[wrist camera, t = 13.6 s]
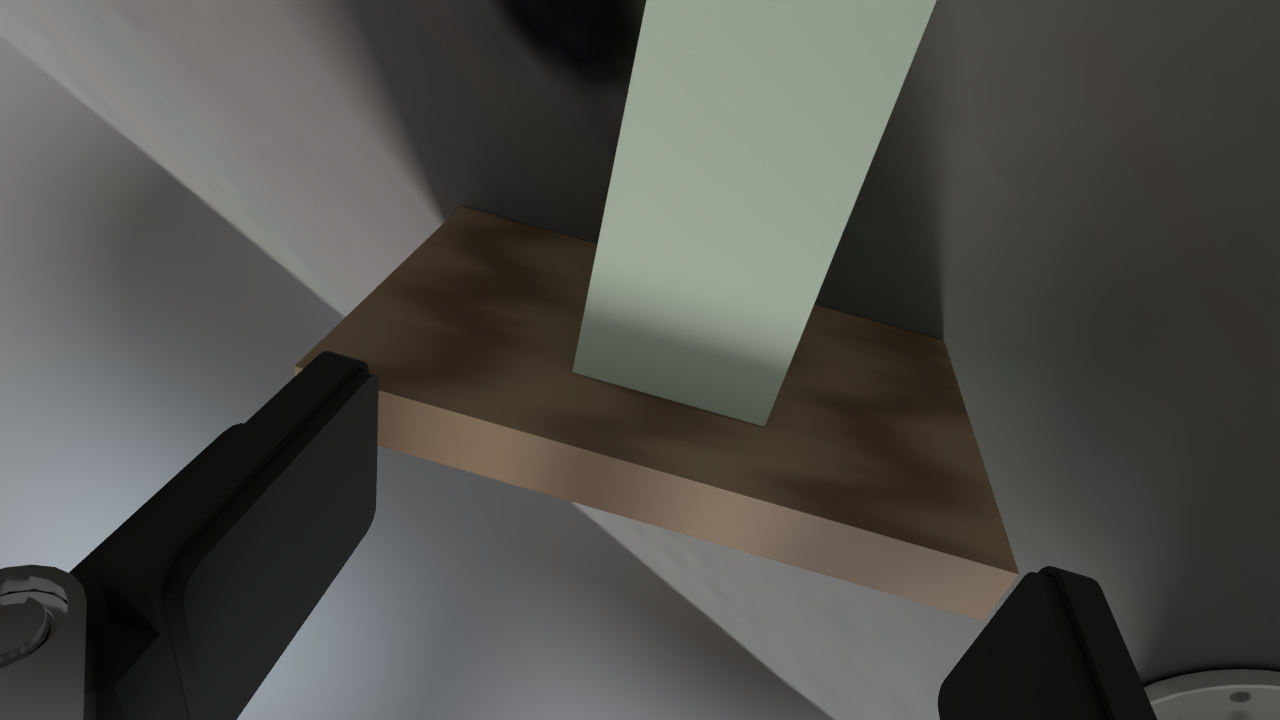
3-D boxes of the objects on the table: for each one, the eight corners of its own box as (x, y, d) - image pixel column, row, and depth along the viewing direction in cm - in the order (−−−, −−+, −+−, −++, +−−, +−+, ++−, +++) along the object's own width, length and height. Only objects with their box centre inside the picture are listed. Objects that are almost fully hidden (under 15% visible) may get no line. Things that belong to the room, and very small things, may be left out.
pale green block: (905, -79, 22) (960, -60, 15) (772, 290, 30) (764, 426, 22) (713, -128, 23) (673, -135, 15) (628, 250, 30) (572, 372, 22)
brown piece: (1166, -73, 21) (1492, -35, 11) (922, 380, 30) (983, 620, 20) (499, -247, 22) (249, -357, 12) (458, 249, 31) (298, 422, 21)
